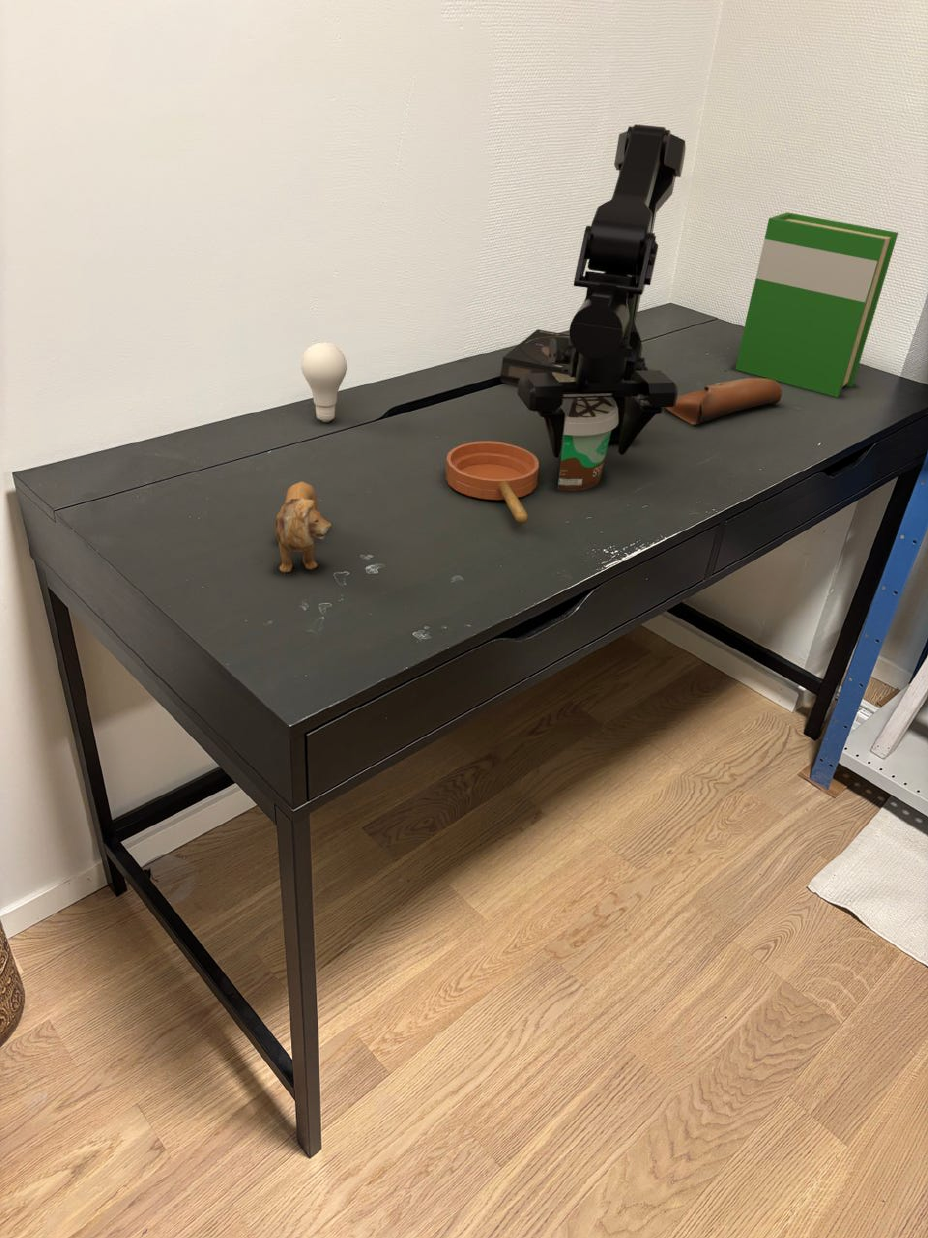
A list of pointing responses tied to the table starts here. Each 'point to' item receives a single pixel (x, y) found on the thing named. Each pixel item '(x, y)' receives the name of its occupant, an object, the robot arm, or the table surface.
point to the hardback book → (814, 301)
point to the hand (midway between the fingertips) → (588, 455)
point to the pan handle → (513, 502)
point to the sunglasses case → (725, 399)
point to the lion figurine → (299, 525)
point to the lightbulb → (324, 376)
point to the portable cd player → (533, 359)
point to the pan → (491, 469)
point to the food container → (586, 442)
